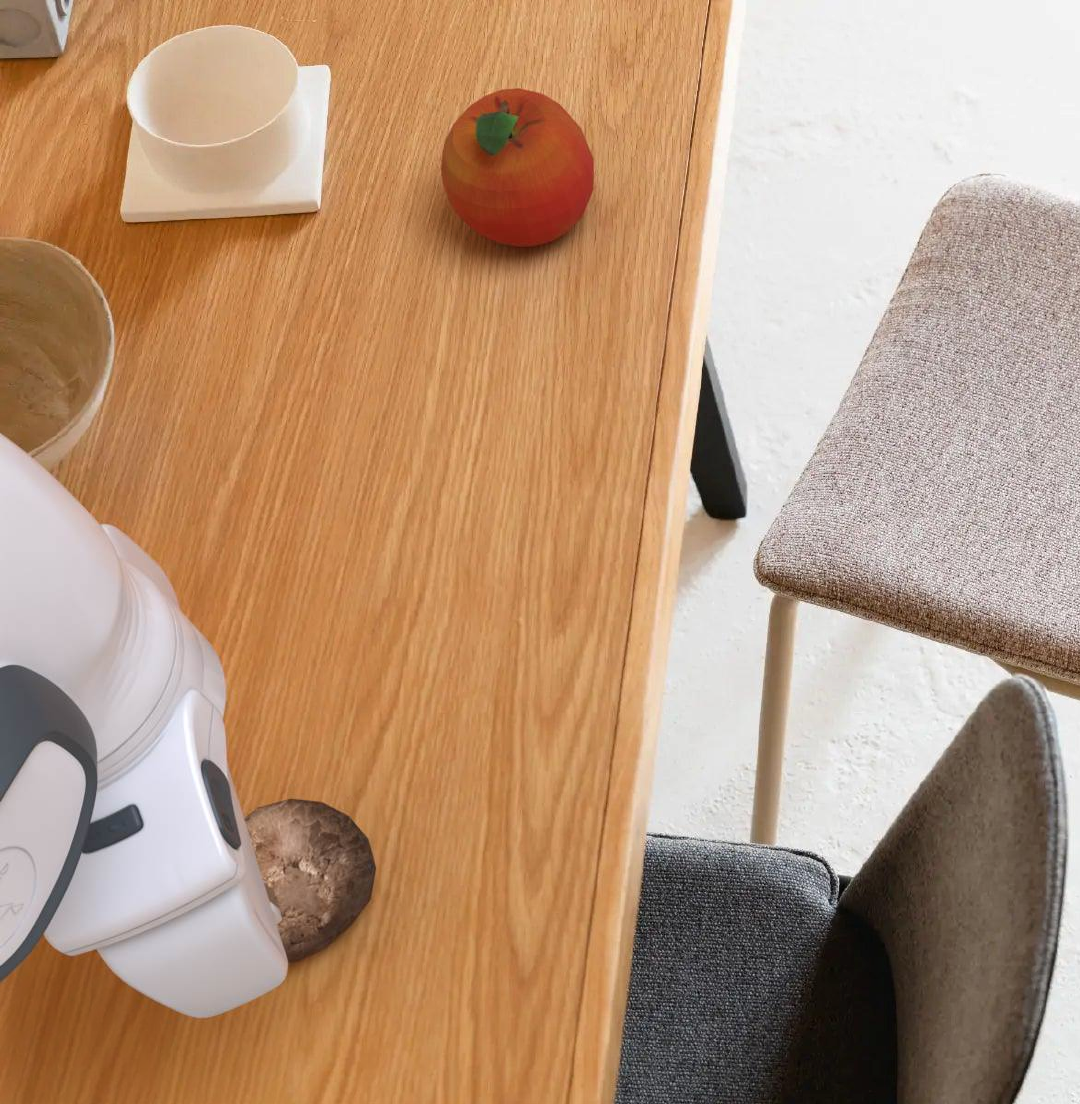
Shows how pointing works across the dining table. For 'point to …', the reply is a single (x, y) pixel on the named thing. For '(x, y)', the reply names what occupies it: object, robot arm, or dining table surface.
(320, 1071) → the dining table surface
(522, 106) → the fruit
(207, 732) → the robot arm
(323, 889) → the mushroom
